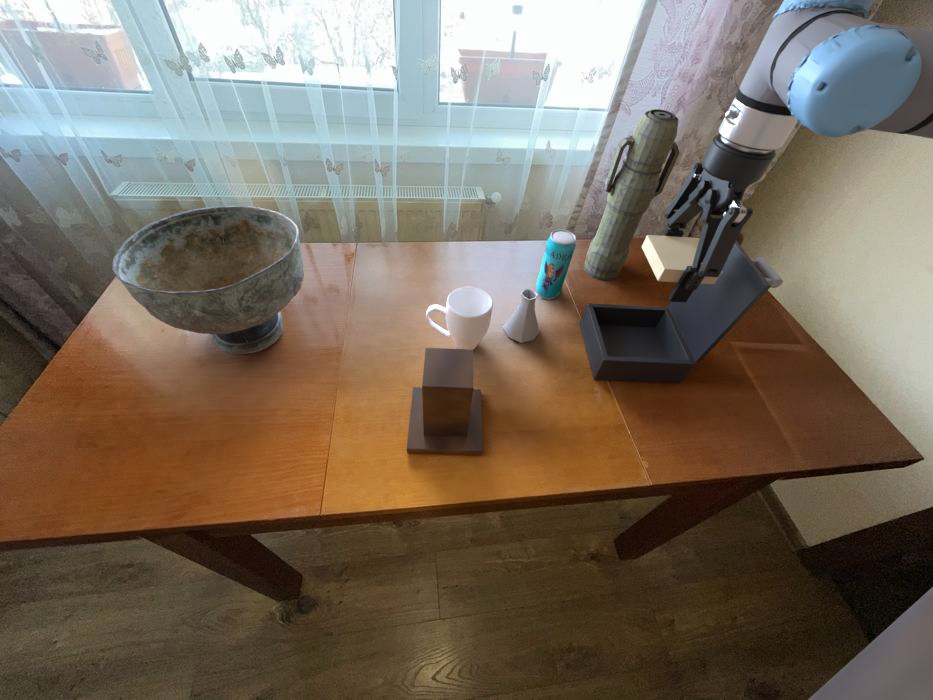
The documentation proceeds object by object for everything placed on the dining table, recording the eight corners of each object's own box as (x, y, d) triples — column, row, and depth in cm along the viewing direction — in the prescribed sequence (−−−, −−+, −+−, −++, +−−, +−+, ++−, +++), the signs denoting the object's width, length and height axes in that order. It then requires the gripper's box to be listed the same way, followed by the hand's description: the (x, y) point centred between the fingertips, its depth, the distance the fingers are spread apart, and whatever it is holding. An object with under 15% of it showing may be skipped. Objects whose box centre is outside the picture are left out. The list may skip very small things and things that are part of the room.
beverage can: (532, 297, 90) (546, 240, 79) (537, 282, 94) (551, 225, 83) (557, 304, 89) (575, 247, 78) (561, 288, 93) (579, 232, 82)
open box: (593, 380, 76) (603, 360, 71) (579, 323, 86) (587, 303, 81) (680, 383, 77) (696, 364, 72) (656, 327, 87) (668, 307, 82)
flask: (520, 313, 87) (529, 276, 79) (545, 332, 83) (556, 296, 76) (496, 327, 83) (502, 291, 76) (520, 348, 80) (530, 312, 72)
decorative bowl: (150, 388, 68) (78, 297, 53) (188, 291, 84) (141, 201, 70) (314, 373, 73) (290, 288, 59) (320, 285, 90) (302, 201, 75)
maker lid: (766, 285, 58) (809, 291, 59) (723, 228, 68) (761, 234, 69) (695, 362, 72) (731, 366, 73) (667, 305, 82) (699, 309, 83)
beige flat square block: (692, 249, 68) (699, 237, 66) (714, 284, 62) (722, 272, 60) (641, 247, 68) (647, 234, 66) (657, 281, 62) (664, 268, 60)
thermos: (630, 280, 97) (704, 124, 70) (583, 281, 95) (642, 122, 69) (617, 258, 103) (682, 106, 76) (573, 258, 101) (623, 104, 75)
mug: (484, 328, 83) (491, 286, 74) (488, 359, 78) (495, 317, 69) (426, 328, 82) (426, 284, 73) (426, 359, 77) (425, 316, 68)
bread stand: (480, 393, 72) (489, 337, 61) (481, 455, 64) (492, 404, 53) (413, 391, 72) (410, 334, 60) (406, 453, 64) (401, 401, 52)
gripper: (686, 108, 57) (628, 242, 74) (758, 181, 43) (666, 326, 60) (737, 111, 58) (667, 244, 75) (825, 185, 44) (714, 328, 61)
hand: (667, 280), depth 67 cm, fingers closed on beige flat square block, 9 cm apart
